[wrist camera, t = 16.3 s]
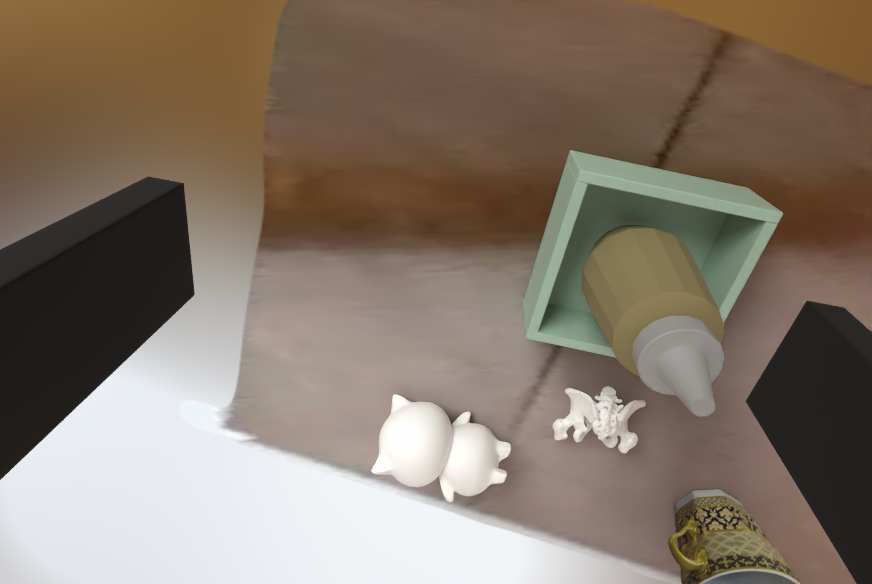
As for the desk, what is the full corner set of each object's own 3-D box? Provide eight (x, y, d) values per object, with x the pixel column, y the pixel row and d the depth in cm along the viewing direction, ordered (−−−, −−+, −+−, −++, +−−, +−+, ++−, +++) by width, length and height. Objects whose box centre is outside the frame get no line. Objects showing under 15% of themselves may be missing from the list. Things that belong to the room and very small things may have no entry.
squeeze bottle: (607, 317, 44) (666, 485, 29) (555, 247, 42) (588, 390, 26) (697, 268, 41) (819, 425, 25) (647, 189, 39) (749, 311, 23)
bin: (569, 149, 39) (580, 169, 34) (748, 187, 38) (784, 213, 34) (522, 303, 45) (525, 338, 40) (674, 335, 45) (695, 374, 40)
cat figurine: (505, 512, 44) (371, 473, 43) (470, 517, 54) (359, 486, 52) (521, 414, 48) (399, 376, 47) (486, 435, 58) (383, 404, 57)
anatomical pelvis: (549, 452, 48) (569, 402, 44) (547, 418, 52) (565, 369, 48) (635, 468, 48) (662, 420, 44) (627, 433, 51) (651, 385, 48)
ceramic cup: (779, 506, 53) (834, 602, 44) (704, 552, 58) (741, 649, 49) (684, 448, 51) (723, 538, 42) (615, 501, 55) (636, 592, 47)
